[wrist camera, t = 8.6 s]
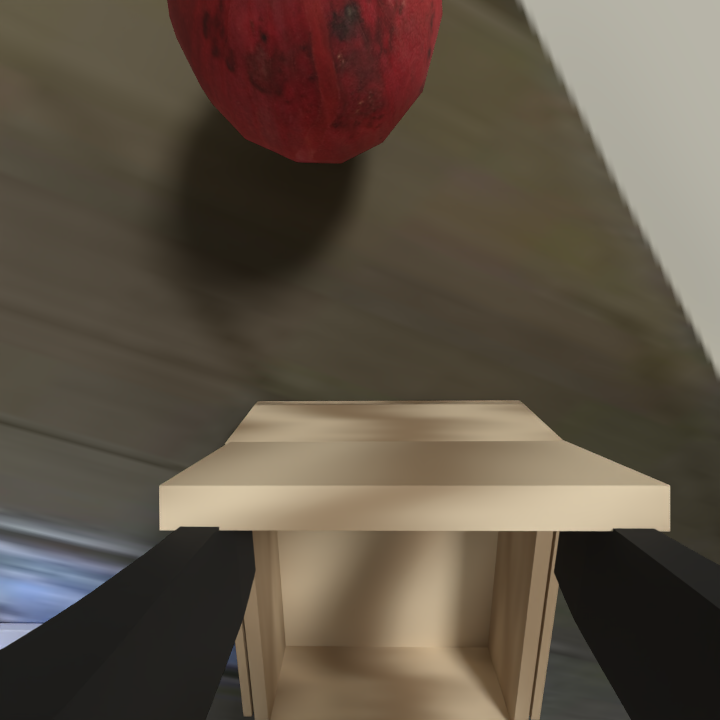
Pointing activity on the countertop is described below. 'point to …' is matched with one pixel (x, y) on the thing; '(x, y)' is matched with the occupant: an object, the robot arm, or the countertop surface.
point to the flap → (412, 488)
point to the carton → (397, 589)
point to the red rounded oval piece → (310, 68)
